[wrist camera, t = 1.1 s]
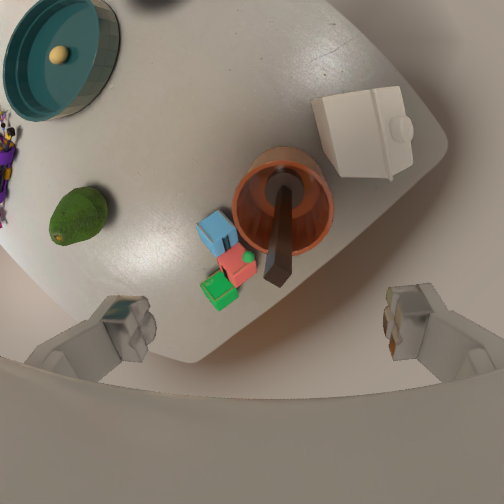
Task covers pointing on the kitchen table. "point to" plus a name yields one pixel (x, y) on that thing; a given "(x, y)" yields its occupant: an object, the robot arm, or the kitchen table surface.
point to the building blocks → (225, 259)
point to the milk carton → (365, 132)
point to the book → (5, 158)
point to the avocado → (78, 216)
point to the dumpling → (58, 54)
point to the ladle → (281, 222)
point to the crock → (261, 212)
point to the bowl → (67, 73)
